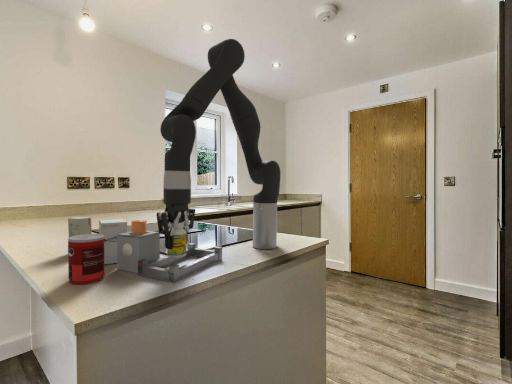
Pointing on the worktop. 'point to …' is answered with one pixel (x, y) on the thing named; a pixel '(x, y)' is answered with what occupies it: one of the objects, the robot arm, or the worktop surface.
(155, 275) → the grey rectangular tray
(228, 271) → the worktop surface
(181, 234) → the supplement bottle
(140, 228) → the brown egg
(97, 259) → the canned food
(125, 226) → the supplement box
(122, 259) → the cabinet
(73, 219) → the skincare box
